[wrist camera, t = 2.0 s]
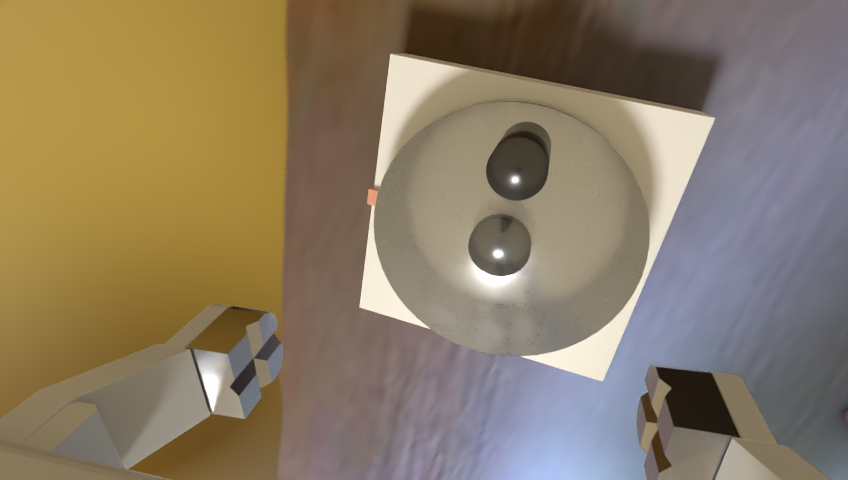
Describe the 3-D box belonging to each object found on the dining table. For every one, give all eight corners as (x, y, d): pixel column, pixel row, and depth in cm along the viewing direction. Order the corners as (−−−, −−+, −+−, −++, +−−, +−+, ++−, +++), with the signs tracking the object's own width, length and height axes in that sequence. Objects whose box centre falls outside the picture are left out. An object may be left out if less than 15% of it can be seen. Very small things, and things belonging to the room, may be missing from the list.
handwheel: (593, 369, 35) (601, 453, 28) (370, 302, 38) (326, 362, 31) (691, 132, 27) (736, 163, 20) (401, 73, 30) (351, 82, 23)
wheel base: (701, 111, 29) (716, 118, 26) (599, 357, 38) (602, 384, 35) (400, 52, 33) (384, 53, 30) (369, 289, 42) (354, 308, 39)
